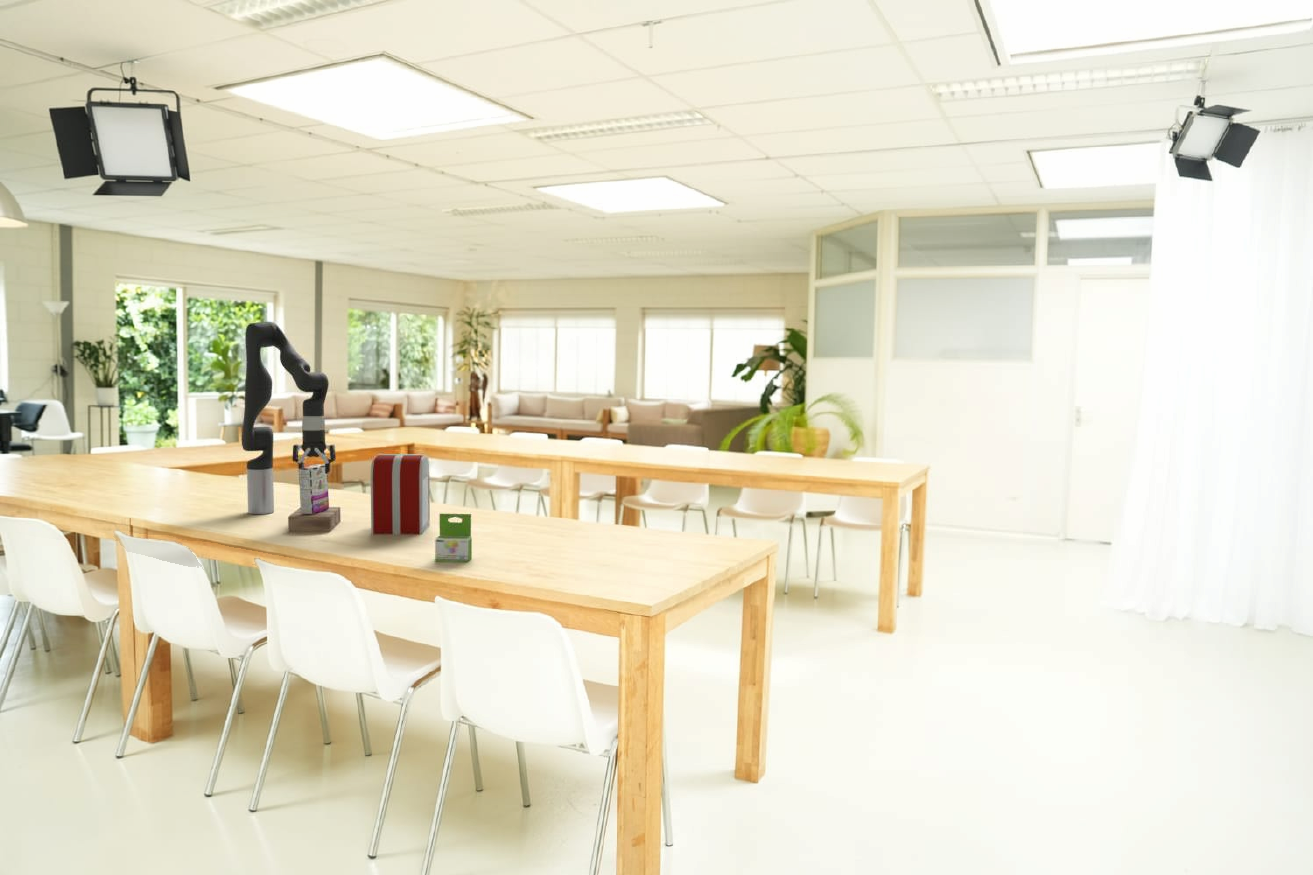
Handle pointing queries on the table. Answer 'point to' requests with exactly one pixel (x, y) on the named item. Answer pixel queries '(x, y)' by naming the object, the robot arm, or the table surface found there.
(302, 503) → the candy bar box
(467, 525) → the ink box
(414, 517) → the red grey rounded block
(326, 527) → the walnut block
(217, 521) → the table surface
